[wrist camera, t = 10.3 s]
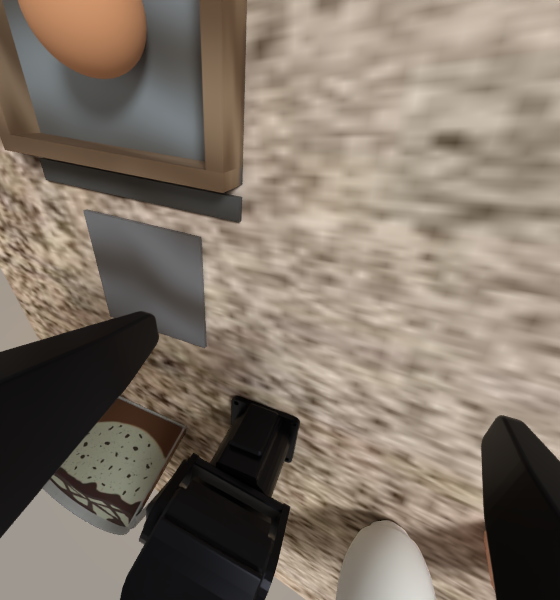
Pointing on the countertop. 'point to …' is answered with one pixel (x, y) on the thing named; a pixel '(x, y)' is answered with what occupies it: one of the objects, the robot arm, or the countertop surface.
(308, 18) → the countertop surface
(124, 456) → the food container
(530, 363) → the countertop surface
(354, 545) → the sauce bottle
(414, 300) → the countertop surface
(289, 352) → the countertop surface
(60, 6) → the ball
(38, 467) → the robot arm
